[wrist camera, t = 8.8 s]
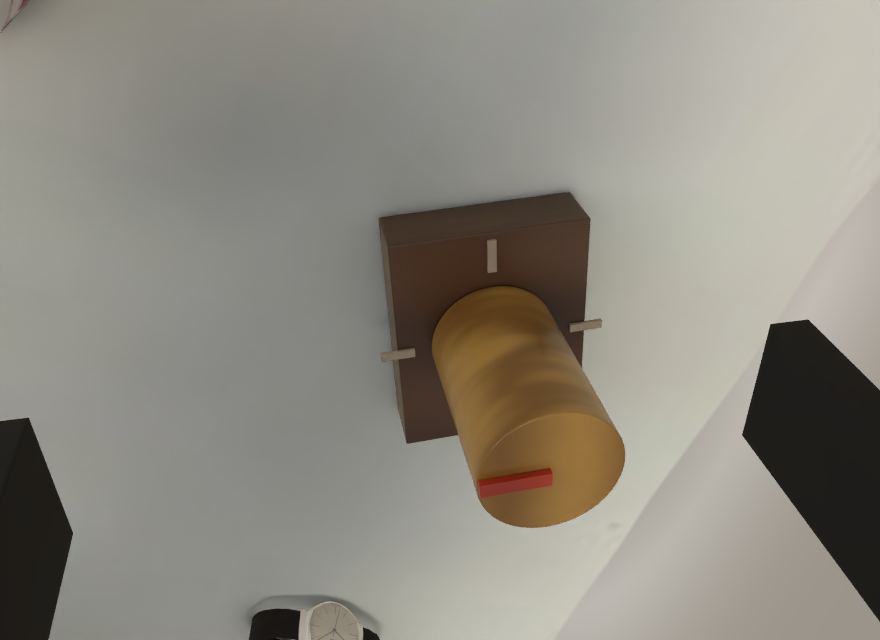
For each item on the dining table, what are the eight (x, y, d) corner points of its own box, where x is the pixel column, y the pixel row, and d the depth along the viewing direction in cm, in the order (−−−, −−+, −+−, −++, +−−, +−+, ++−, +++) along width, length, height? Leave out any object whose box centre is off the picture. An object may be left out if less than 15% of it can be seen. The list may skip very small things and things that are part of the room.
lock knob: (555, 277, 33) (635, 407, 26) (551, 379, 36) (622, 520, 29) (428, 295, 32) (477, 433, 26) (434, 397, 35) (479, 546, 28)
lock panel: (576, 379, 40) (595, 414, 37) (383, 411, 38) (391, 449, 36) (586, 189, 34) (609, 217, 32) (361, 219, 33) (369, 250, 31)
